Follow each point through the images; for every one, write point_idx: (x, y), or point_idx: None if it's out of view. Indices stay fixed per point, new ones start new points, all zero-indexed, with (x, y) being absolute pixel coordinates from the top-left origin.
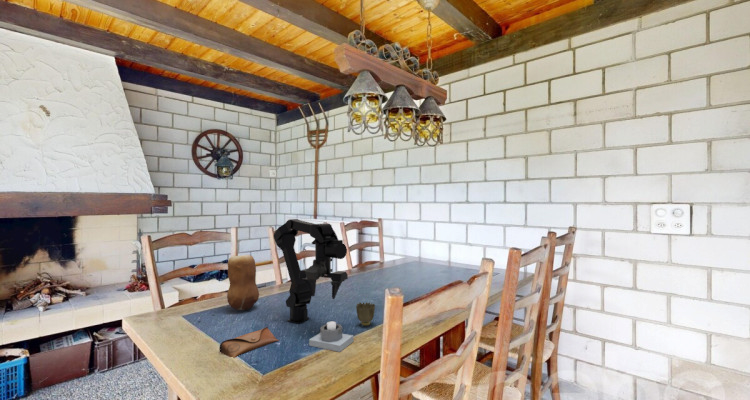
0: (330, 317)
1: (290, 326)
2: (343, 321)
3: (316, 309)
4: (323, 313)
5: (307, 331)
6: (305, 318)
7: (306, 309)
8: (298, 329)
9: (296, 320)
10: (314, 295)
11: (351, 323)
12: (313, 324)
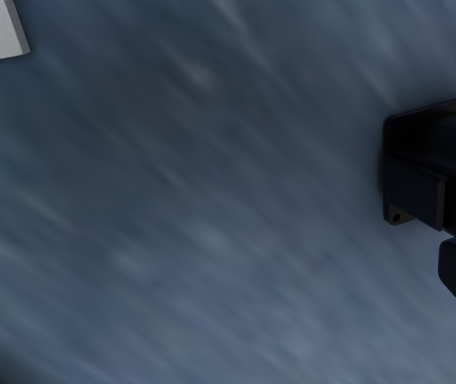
0: (282, 324)
1: (410, 39)
2: (155, 342)
3: (437, 339)
4: (364, 332)
5: (233, 41)
6: (389, 179)
7: (438, 218)
8: (322, 30)
9: (427, 122)
10: (441, 279)
11: (75, 359)
12: (294, 172)
